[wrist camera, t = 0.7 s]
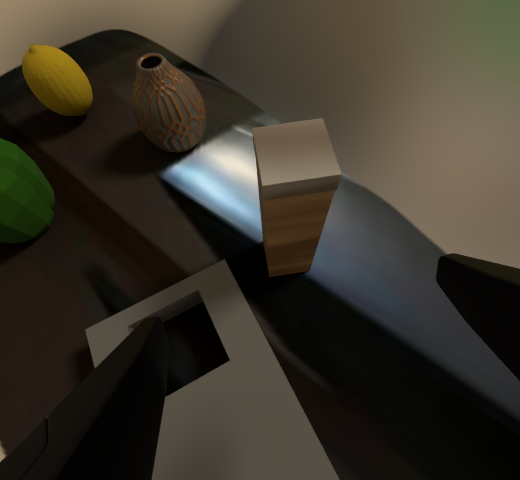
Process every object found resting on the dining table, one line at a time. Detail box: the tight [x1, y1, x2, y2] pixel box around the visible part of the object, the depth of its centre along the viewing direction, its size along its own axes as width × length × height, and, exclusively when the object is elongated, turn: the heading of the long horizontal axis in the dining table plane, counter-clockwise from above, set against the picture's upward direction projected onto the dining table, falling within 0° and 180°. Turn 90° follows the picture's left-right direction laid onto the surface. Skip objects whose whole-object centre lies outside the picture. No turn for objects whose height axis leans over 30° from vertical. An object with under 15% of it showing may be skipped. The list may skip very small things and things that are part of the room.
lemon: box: [22, 44, 93, 116], centre depth 31 cm, size 6×6×8 cm
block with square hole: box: [86, 259, 339, 480], centre depth 19 cm, size 16×11×3 cm
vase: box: [131, 53, 206, 152], centre depth 28 cm, size 7×7×9 cm
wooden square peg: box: [252, 118, 342, 277], centre depth 19 cm, size 4×4×13 cm
